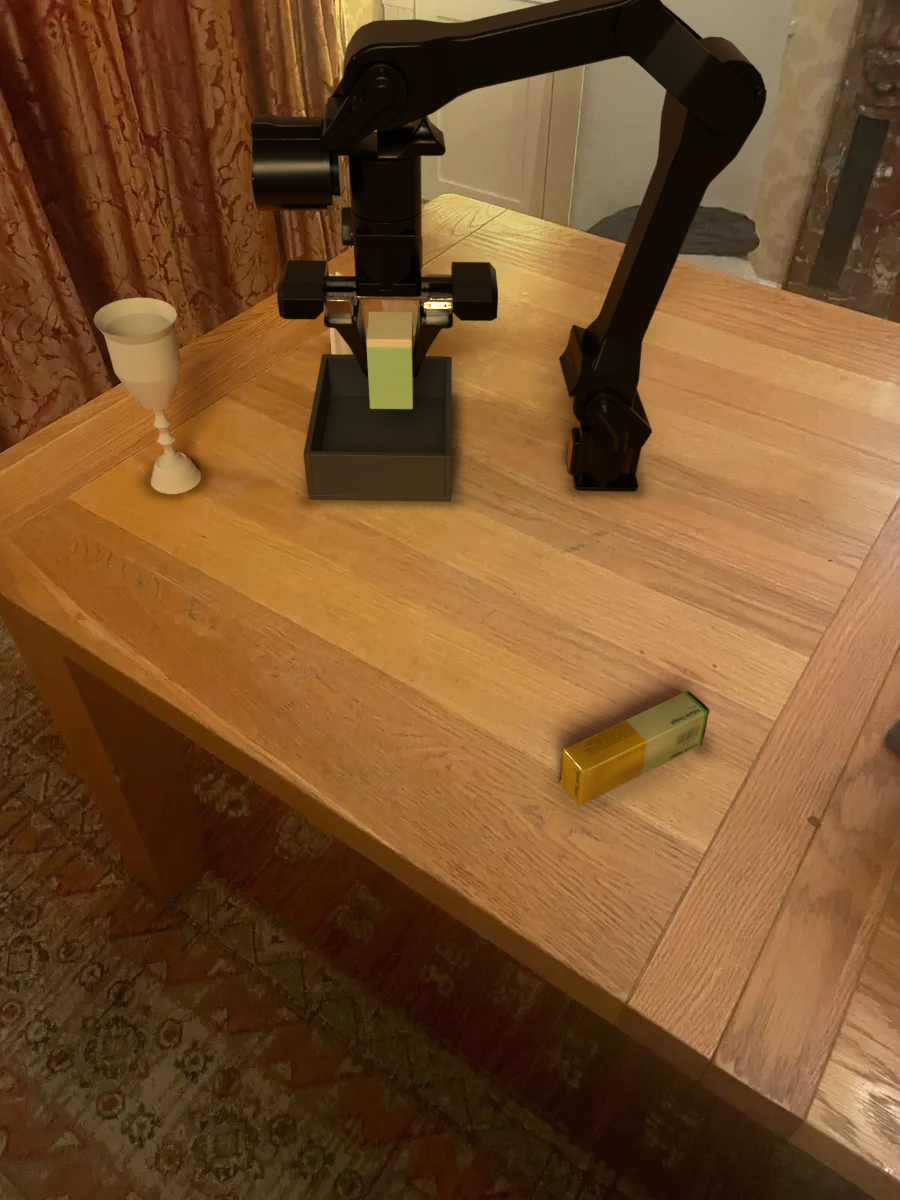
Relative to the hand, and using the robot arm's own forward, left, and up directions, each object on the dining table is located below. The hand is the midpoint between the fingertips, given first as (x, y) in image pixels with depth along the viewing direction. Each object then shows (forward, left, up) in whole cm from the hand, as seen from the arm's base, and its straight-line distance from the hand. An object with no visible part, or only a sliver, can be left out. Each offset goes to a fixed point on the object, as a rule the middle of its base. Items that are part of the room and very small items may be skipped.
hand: (391, 375), depth 85 cm
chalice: (+22, +1, -12) cm, 26 cm away
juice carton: (0, 0, -2) cm, 2 cm away
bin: (+1, -5, -12) cm, 13 cm away
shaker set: (+3, -26, -12) cm, 29 cm away
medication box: (-20, +35, -12) cm, 42 cm away
